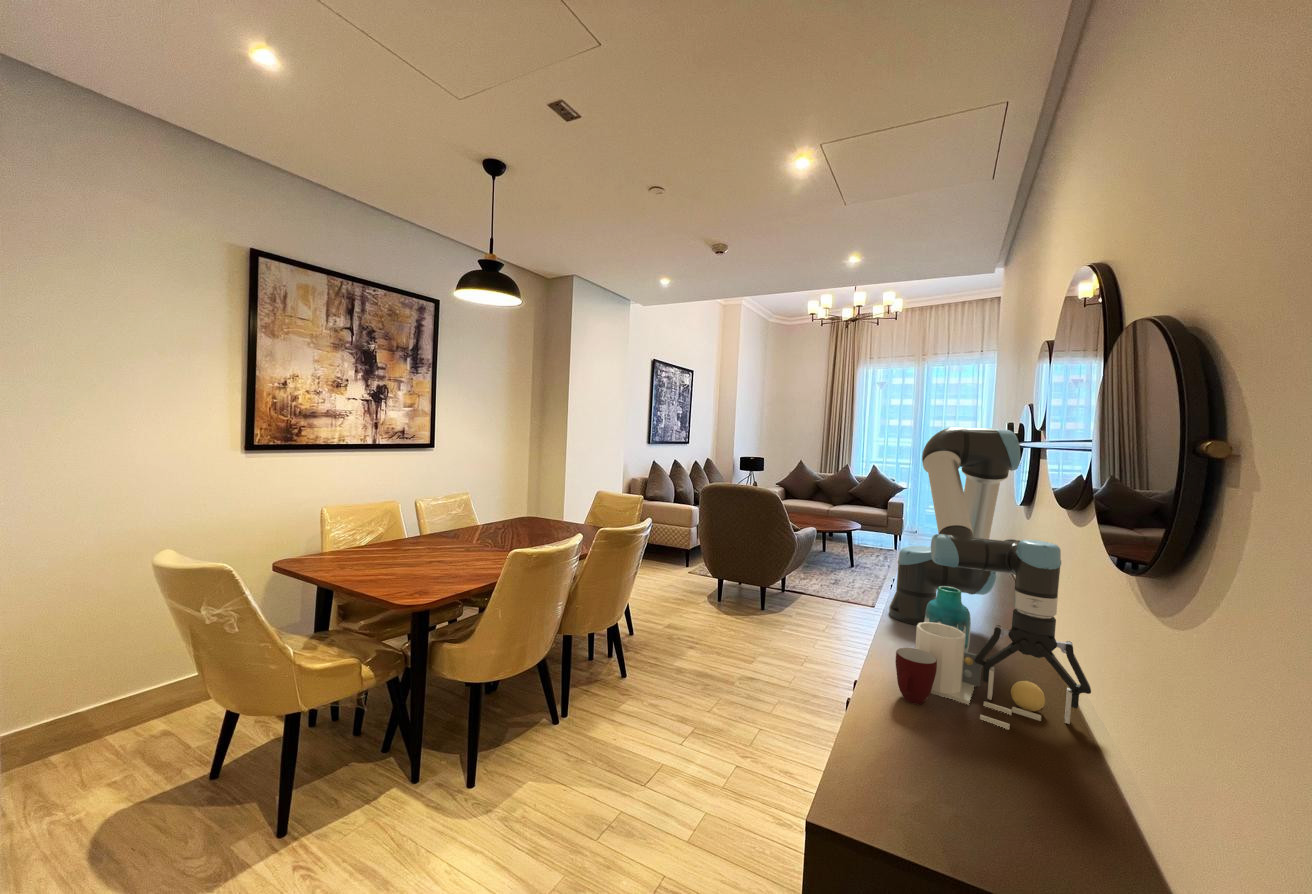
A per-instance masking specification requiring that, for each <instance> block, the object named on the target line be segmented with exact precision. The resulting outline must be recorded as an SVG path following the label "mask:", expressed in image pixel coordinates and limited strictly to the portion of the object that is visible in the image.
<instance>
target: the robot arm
mask: <svg viewBox="0 0 1312 894" xmlns="http://www.w3.org/2000/svg"><path fill="white" fill-rule="evenodd" d="M921 462H922V466H923V469H924V471H925V472H926V473H927V474H928V480H929V486H930V491H931V497H932V502H933V510H934V514H935V520H936V525H937V532H938V534H937V533H935V534H933V536H932V537H931V541H930V546H927V545H912V546H910V545H909V546H906V547H903V548H902V549H899V553H898V560H897V566H898V567H897V574H896V576H897V577H896V590H895V593H894V595H893V598H892V600H891V602H890V604H889V608H888V609H889V610H888V614H889V616H890V617H892V618H894V619H895V620H897V621H900V622H903V623H906V624H908V625H909V624H910V625H914V626H917V625H918V623H922V622H924V619H925V611H926V607H927V604H928V603H929V602H930V601H931V600H934V599H936V597H937V591H938V587H940V586H947V587H953V588H956V589H959V590H960V591H961V594H962V593H963V594H968V595H981V596H982V595H987V594H989V593H990V592H991V591H992V589H994V586H995V583H996V579H997V575H996V574H997V573H1002V574H1004V573H1005V574H1012V575H1015V577H1014V578H1015V580H1014V590H1013V591H1014V592H1013V594H1014V595H1013V604H1012V606H1013V607H1014V608H1015V609H1012V617H1011V618H1012V621H1011V628H1010V629H1006V628H1004V627H1002V626H1001V625H1000V624H996V625H995V626H994V630H993V634H992V635H991V636H990V638H989V639H988V640H987V641H986V643H985V644H984V645H983V646H982V648H981V649H980V650H979V652H977V654H976V657H975V662H976V663H978V664H980V665H981V667H982V668H983V672H982V681H983V682H985V683H986V684H987V700H990V701H991V700H992V698H993V693H994V692H993V690H994V678H995V677H994V676H995V667H994V666H995V665H997V664H999V663H1000V662H1002V661H1003V660H1005V659H1007V658H1008V657H1009V656H1011V655H1012V654H1015V653H1017V652H1019V653H1021V654H1022V655H1025V656H1033V657H1034V658H1038V659H1042V658H1044V659H1045V660H1046V661H1047V662H1048V663H1049V664H1050V666H1051V667H1053V669H1054V670H1055V671H1056V673H1057V674H1058V675H1059V677H1060V678H1061V679H1062V680H1063V682H1064V683H1065V684H1066V686H1068V687H1066V693H1065V694H1066V695H1065V696H1066V697H1065V706H1064V707H1065V709H1064V724H1067V725H1070V723H1071V710H1072V708H1073V709H1078V708H1079V699H1080V695H1081V694H1087V695H1089V694H1091V693H1092V688H1091V685H1090V683H1089V681H1088V680H1087V678H1086V675H1085V672H1083V669H1082V667H1081V665H1080V663H1079V660H1077V657H1076V655H1075V653H1074V644H1073V642H1072V641H1070V640H1067V641H1065V642H1064V641H1058V640H1056V638H1055V637H1056V625H1057V619H1056V618H1055V616H1056V615H1058V614H1057V611H1058V600H1059V599H1058V598H1059V597H1058V595H1059V585H1060V575H1061V574H1060V573H1061V566H1062V559H1061V557H1062V555H1061V552H1062V551H1061V547H1060V546H1059V545H1057V544H1056V543H1053V542H1048V541H1042V540H1036V539H1035V540H1034V539H1021V540H1018V539H1012V538H1009V539H1004V540H1001V539H990V536H991V532H992V526H993V520H994V516H995V511H996V506H997V501H998V500H997V499H998V496H999V495H998V494H999V490H1000V487H1001V486H1000V485H1001V482H1002V481H1005V480H1006V479H1008V477H1009V473H1010V471H1011V472H1012V471H1013V472H1014V471H1016V470H1017V469H1018V468H1019V466H1020V464H1021V463H1020V462H1021V446H1020V443H1019V439H1018V437H1017V435H1016V434H1015V432H1013V431H1012V430H1009V429H1001V428H985V427H983V428H982V427H962V426H960V427H959V426H952V427H948V428H944V429H942V430H940V431H938V432H936V433H935V434H934V435H933V436H932V437H931V438H930V439H929V440H928V441H927V442H926V444H925V446H924V448H923V451H922V455H921ZM960 467H961V472H962V473H963V475H965V476H966V478H965V481H964V482H965V483H964V489H963V483H962V479H961V474H960V470H959V469H960ZM1006 636H1008V638H1009V639H1010V640H1011V643H1010V644H1008V645H1007V646H1006V647H1005V646H1004V648H1002V649H1001V650H999V651H997V652H996V653H994V654H993V655H991V656H990V657H989V658H987V659H986V656H987V655H988V654H989V653H990V651H992V649H993V648H994V647H995V646H996V644H997V643H998V641H999V639H1000V638H1001V639H1003V638H1005V637H1006ZM1056 648H1059V649H1060V650H1061V652H1062V654H1066V658H1067V661H1068V663H1069V664H1070V667H1071V668H1072V670H1073V672H1074V675H1075V677H1076V678H1077V681H1078V682H1079V684H1077V682H1076V681H1075V680H1074V679H1073V677H1072V676H1071V674H1069V673H1068V671H1067V670H1066V668H1065V667H1064V666H1063V664H1061V663H1060V662H1059V661H1060V660H1058V658H1057V657H1056V656H1055V654H1054V653H1053V651H1054V650H1055V649H1056Z"/></svg>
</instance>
